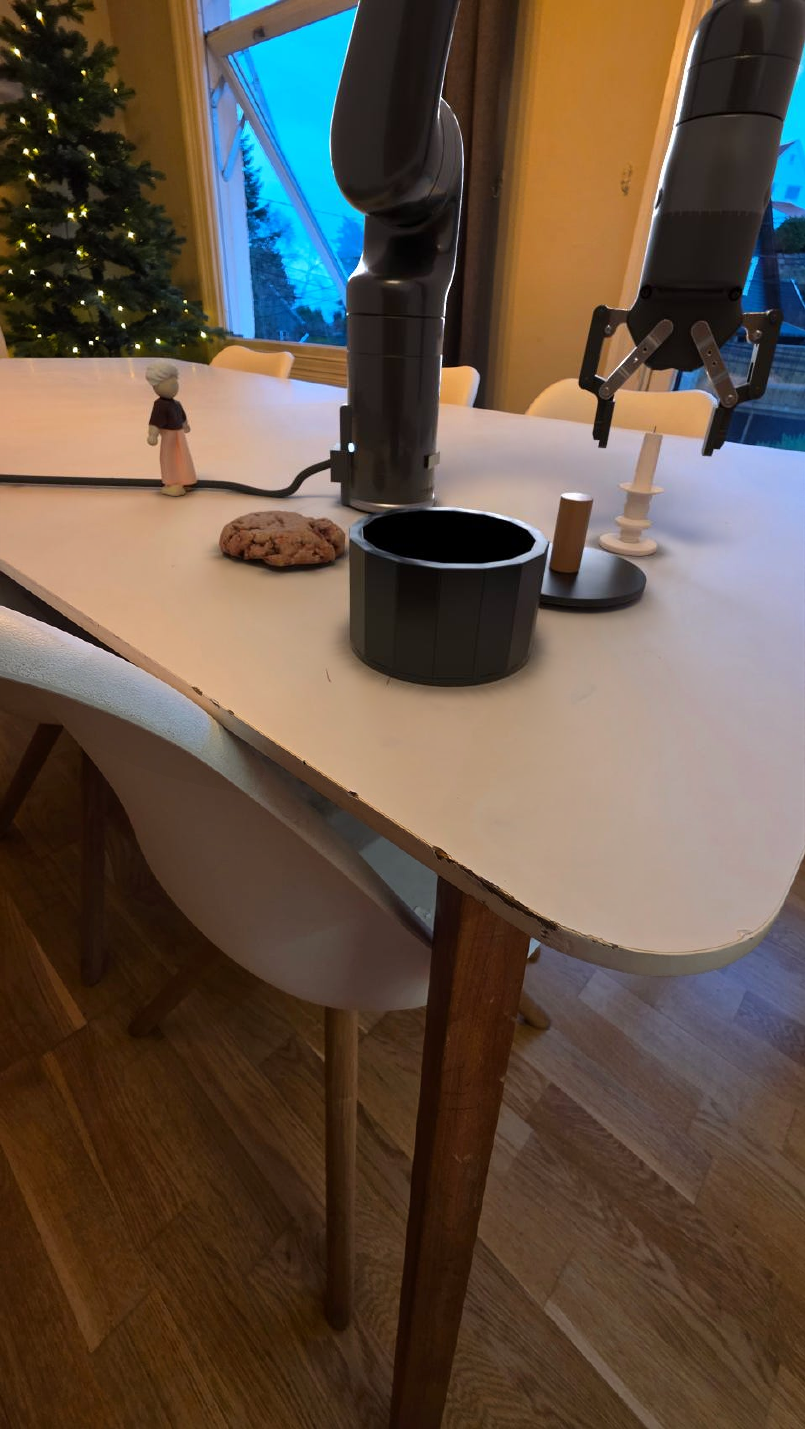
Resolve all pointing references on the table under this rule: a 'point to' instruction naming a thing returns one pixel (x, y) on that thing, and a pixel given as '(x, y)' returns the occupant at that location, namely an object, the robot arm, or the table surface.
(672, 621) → the table surface
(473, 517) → the tin
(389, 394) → the robot arm
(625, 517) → the candle
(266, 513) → the cookie
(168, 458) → the grandmother figurine
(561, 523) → the tin lid
